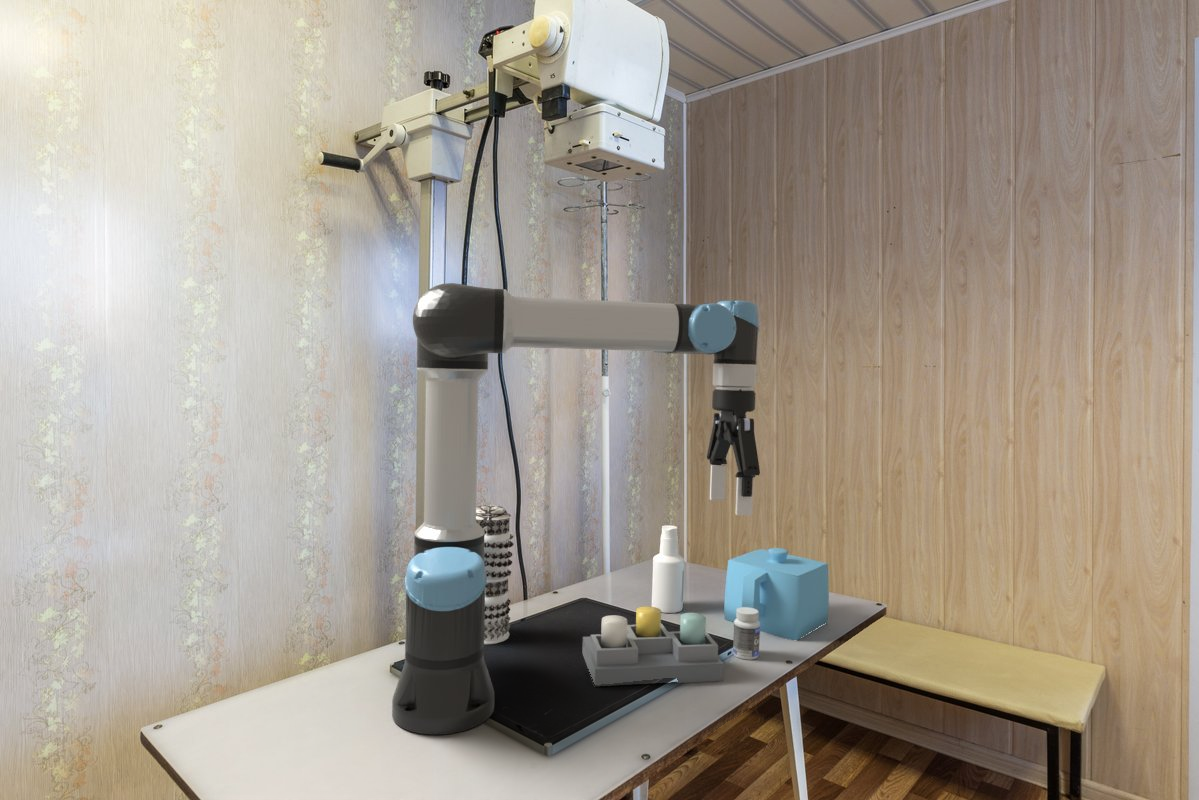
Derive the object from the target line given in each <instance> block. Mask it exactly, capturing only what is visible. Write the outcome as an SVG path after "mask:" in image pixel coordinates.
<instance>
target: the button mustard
mask: <svg viewBox="0 0 1199 800" xmlns="http://www.w3.org/2000/svg"><path fill="white" fill-rule="evenodd" d="M635 613H636V614H635V625H636V634H638V635H640V636H643V637H656V636H659V635H660V631H661V624H662V623H661V622H662V612H661V610H660V609H659V608H656V607H652V606H651V605H650V606H649V605H647V606H646V605H645V606H644V605H643V606H640V607H637V608H636V612H635Z"/></svg>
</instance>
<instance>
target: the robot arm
mask: <svg viewBox="0 0 1199 800" xmlns="http://www.w3.org/2000/svg"><path fill="white" fill-rule="evenodd" d="M412 327H413V331H414V334H415V336H416V339H417V340H416V343H417V344H416V358H417V359H416V370H417V371H418V372H419V373H420V375H422V377H423V378H424V379H425V424H424V425H425V427H424V428H425V431H424V432H425V434H424V436H425V437H424V439H425V440H424V441H425V442H424V444H425V445H424V495H423V496H424V499H423V500H424V503H423V511H424V512H423V523H422V524H420V525H419V526H418V528H417V529H416V530H414V538H413V539H414V544H413V545H414V546H413V557H412V558H411V560H409V562H408V564H407V568H406V574H405V577H404V589H405V593H406V594H405V635H404V636H405V639H404V640H405V643H404V644H405V645H404V646H405V648H404V649H405V650H404V652H405V653H404V654H405V655H404V664H403V667H402V670H401V673H400V675H399V679H398V681H397V684H396V687H395V690H394V694H393V695H392V703H391V705H392V706H391V709H392V710H391V714H392V715H391V718H392V720H393V722H394V723H395V724H397V725H398V726H399V727H401V728H403V729H404V730H406V731H409V732H412V733H416V734H422V735H424V734H425V735H446V734H447V735H448V734H455V733H459V732H463V731H467V730H470V729H473V728H475V727H478V726H479V725H481V724H482V723H485V722H486V721H487V720H488V719H489V718H490V717H491V716H492V715H493V713H494V710H495V690H494V686H493V683H492V681H491V680H492V679H491V677H490V674H489V670H488V668H487V663H486V661H485V658H484V657H485V656H484V655H485V653H484V652H485V651H484V650H485V646H484V645H485V644H484V619H485V586H486V581H487V576H486V571H485V564H484V534H485V531H484V529H483V528H482V527H481V526H480V525H479V524H478V523H477V522H476V507H477V485H478V484H477V480H478V479H477V478H478V477H477V475H478V472H477V470H478V434H479V433H478V427H479V425H478V423H479V381H480V379H481V378H482V377H484V375H485V374H486V373H488V369H489V354H506V352H507V351H508V350H510V349H511V348H530V349H531V348H534V349H536V348H537V349H540V348H541V349H565V350H566V349H569V350H570V349H572V350H578V349H579V350H606V351H607V350H609V351H635V352H636V351H638V352H653V353H660V354H666V355H670V354H680V355H683V354H684V355H713V366H712V367H713V369H712V386H713V387H715V389H714V390H713V391H712V398H711V399H712V401H711V403H712V404H711V408H712V409H713V410H714V411H718V412H714V413H713V424H712V430H711V434H710V439H709V443H708V449H707V453H706V459H707V460H708V461H709V464H710V477H709V479H710V482H709V483H710V484H709V500H710V501H725V499H726V475H727V474H726V472H727V465H728V461H727V455H728V453H729V450H730V448H731V446H732V450H733V454H734V455H733V456H734V458H735V463H736V466H737V472H736V474H735V478H736V488H735V509H734V510H735V515H736V516H753V499H754V492H753V491H754V478H756V476H760V474H761V470H760V463H759V455H758V449H757V442H756V437H755V419H754V418H747V415H746V414H747V412H748V413H751V412H754V411H755V410H756V392H755V390H753V388H755V387H756V385H757V383H756V381H757V376H758V375H759V371H758V370H757V355H758V339H759V330H760V326H759V307H758V306H757V304H756V303H754V302H753V301H748V300H720V301H718V302H717V303H715V302H714V303H712V302H711V303H710V302H705V303H702V304H691V303H690V304H688V303H687V304H686V303H672V302H671V303H668V302H667V303H666V302H663V303H662V302H649V301H647V302H645V301H626V300H625V301H623V300H620V301H619V300H600V299H599V300H598V299H580V298H579V299H577V298H555V297H554V298H552V297H551V298H550V297H533V296H531V297H530V296H514V295H512V294H511V293H509V290H507V288H506V289H504V288H489V287H482V286H474V285H467V284H462V283H453V282H451V283H449V282H448V283H441V284H438V285H435V286H433V287H431V288H429V289H428V290H426V292H424V293H423V294H422V295H421V296H420V297H419V299H418V300H417V302H416V304H415V306H414V310H413V314H412Z"/></svg>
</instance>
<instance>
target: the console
mask: <svg viewBox="0 0 1199 800" xmlns="http://www.w3.org/2000/svg"><path fill="white" fill-rule="evenodd" d="M581 648H582V651H581V652H582V656H583V659H584V662H585V665H586V667H587V670H588V669H589V670H588V672H590V673H589V675H590V674H591V675H590V678H591V677H592V678H591V680H592V679H593V681H592V683H593V682H594V684H595V685H601V684H614V683H623V682H633V681H642V680H653V679H662V678H677V680H678V682H677V683H676V684H681V683H682V684H683V683H685V684H686V683H705V682H706V683H707V682H723V681H724V664H725V663H724V661H722V659H720V657H719V645H718V643H717V642H716V641H715V640H714V638H712V637H711V635H710V634H709V633H708V631H707V630H705V642H704V643H702V644H697V645H693V644H687V643H684V642H682V641H681V640H680V630H679V631H668V630H667V628H666V627H665V626H664V625H663V623H661V631H660V635H659V636H656V637H643V636H640V635H638V634H636V624H627V644H626V645H625V646H623V647H620V648H610V647H606V646H604V645H602V644H601V634H600V633H599V634H598V633H597V634H590V636H582V647H581ZM594 684H593V685H594Z"/></svg>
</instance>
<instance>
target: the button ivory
mask: <svg viewBox="0 0 1199 800" xmlns="http://www.w3.org/2000/svg"><path fill="white" fill-rule="evenodd" d="M627 625H628V619H627V618H626V617H625V616H621V615H617V614H616V615H615V614H613V615H604V616H603V617H602V618H601V629H600V633H601V644H602V645H604V646H606V647H610V648H620V647H623V646H625V645H626V644H627Z"/></svg>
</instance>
